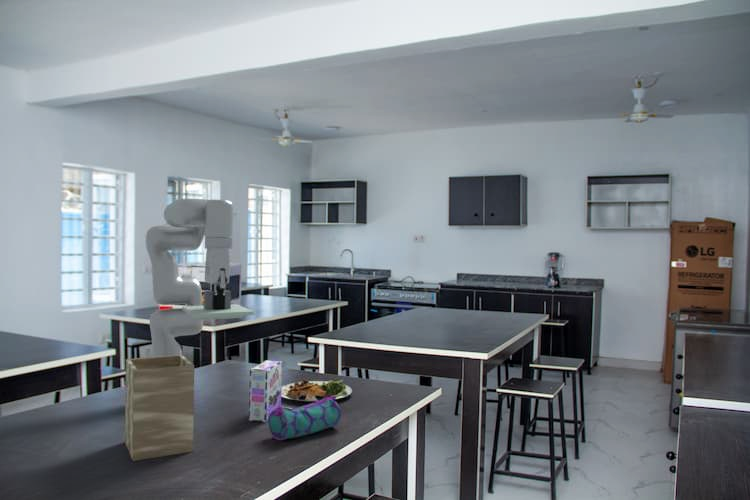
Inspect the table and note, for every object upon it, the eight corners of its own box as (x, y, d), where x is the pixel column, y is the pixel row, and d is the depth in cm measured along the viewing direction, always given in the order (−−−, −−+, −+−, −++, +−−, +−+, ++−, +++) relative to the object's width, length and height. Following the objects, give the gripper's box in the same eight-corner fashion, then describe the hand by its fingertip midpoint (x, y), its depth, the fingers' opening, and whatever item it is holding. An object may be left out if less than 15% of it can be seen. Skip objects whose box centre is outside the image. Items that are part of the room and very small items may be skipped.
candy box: (265, 423, 181) (266, 370, 180) (248, 421, 182) (248, 368, 182) (281, 409, 195) (282, 360, 194) (265, 408, 196) (266, 359, 195)
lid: (182, 313, 169) (182, 289, 169) (237, 310, 177) (237, 287, 177) (194, 321, 155) (194, 295, 155) (253, 318, 163) (253, 293, 163)
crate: (124, 442, 162) (125, 359, 161) (180, 433, 170) (181, 354, 169) (132, 461, 149) (133, 371, 149) (193, 451, 157) (194, 365, 156)
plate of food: (367, 393, 217) (367, 377, 217) (320, 410, 194) (320, 392, 194) (308, 384, 232) (308, 368, 232) (258, 399, 209) (258, 381, 209)
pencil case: (284, 445, 163) (285, 411, 162) (267, 437, 169) (267, 404, 169) (342, 429, 177) (342, 398, 177) (323, 422, 183) (324, 391, 183)
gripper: (198, 242, 171) (197, 305, 171) (211, 244, 157) (210, 313, 157) (224, 242, 174) (223, 304, 175) (239, 244, 160) (238, 312, 161)
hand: (217, 308), depth 166 cm, fingers closed on lid, 2 cm apart
